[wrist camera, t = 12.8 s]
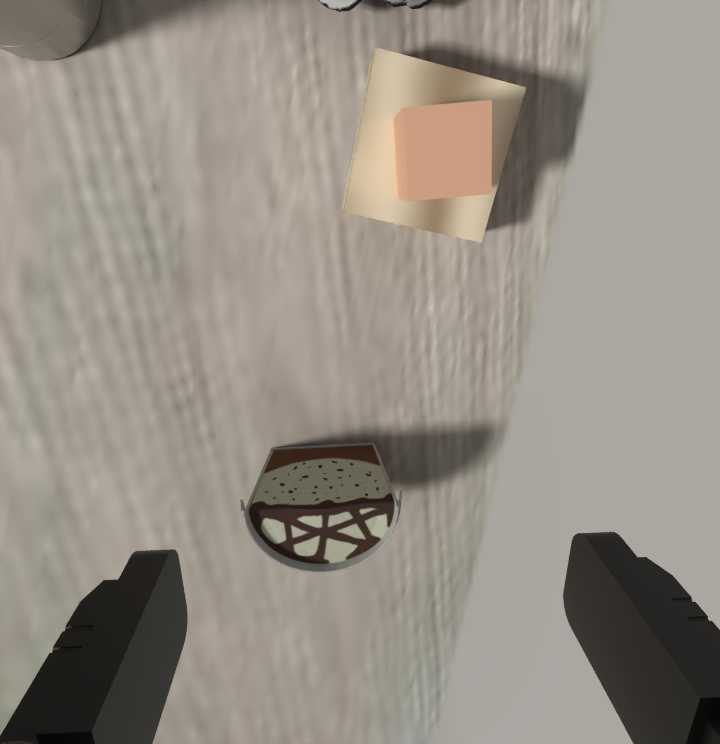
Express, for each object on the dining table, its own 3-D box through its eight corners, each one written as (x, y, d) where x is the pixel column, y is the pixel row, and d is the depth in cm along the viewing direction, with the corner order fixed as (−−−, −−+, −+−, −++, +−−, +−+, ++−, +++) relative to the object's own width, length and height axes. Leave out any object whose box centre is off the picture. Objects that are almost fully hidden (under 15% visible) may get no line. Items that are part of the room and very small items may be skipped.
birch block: (341, 208, 40) (343, 211, 35) (370, 64, 37) (375, 47, 32) (464, 235, 41) (481, 242, 36) (502, 99, 38) (526, 87, 33)
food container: (261, 506, 48) (245, 584, 39) (255, 448, 46) (235, 516, 37) (391, 498, 49) (405, 573, 40) (390, 441, 47) (405, 506, 37)
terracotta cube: (397, 198, 35) (407, 201, 30) (393, 117, 33) (403, 107, 29) (470, 192, 35) (491, 193, 30) (469, 111, 33) (492, 99, 29)
